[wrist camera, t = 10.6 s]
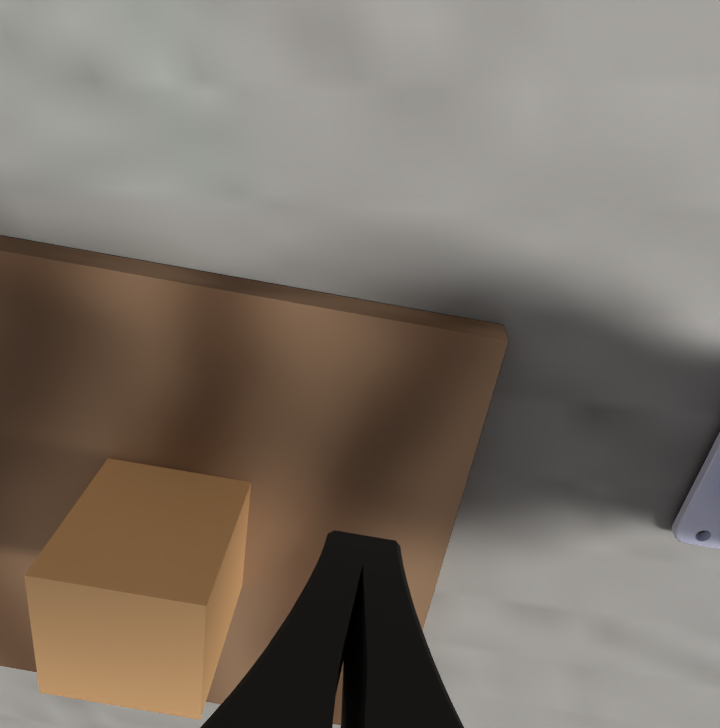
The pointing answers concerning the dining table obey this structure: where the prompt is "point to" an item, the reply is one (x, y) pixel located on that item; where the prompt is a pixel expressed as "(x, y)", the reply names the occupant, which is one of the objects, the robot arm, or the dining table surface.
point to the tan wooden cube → (140, 588)
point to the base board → (233, 419)
